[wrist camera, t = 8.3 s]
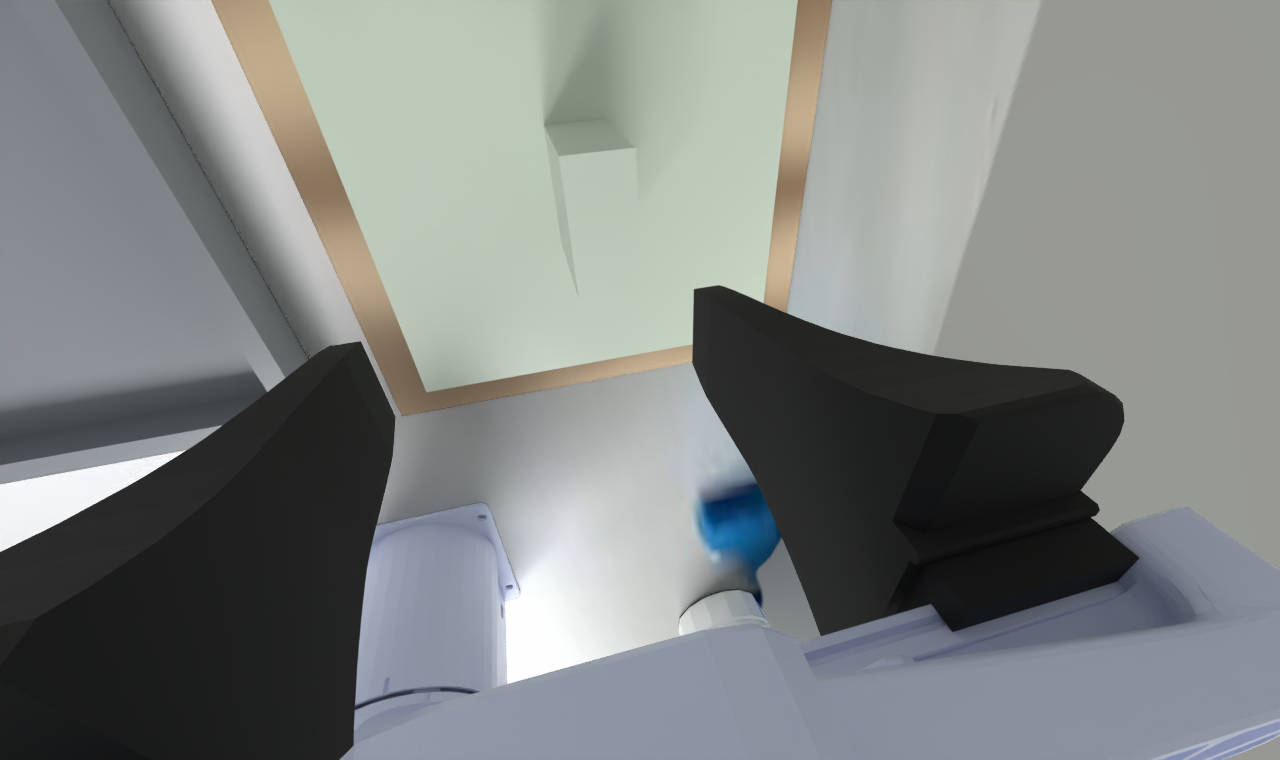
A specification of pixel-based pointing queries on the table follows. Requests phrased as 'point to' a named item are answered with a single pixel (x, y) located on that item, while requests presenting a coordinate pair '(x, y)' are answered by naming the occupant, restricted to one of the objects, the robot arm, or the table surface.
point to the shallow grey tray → (113, 260)
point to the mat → (334, 219)
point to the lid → (550, 165)
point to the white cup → (722, 612)
